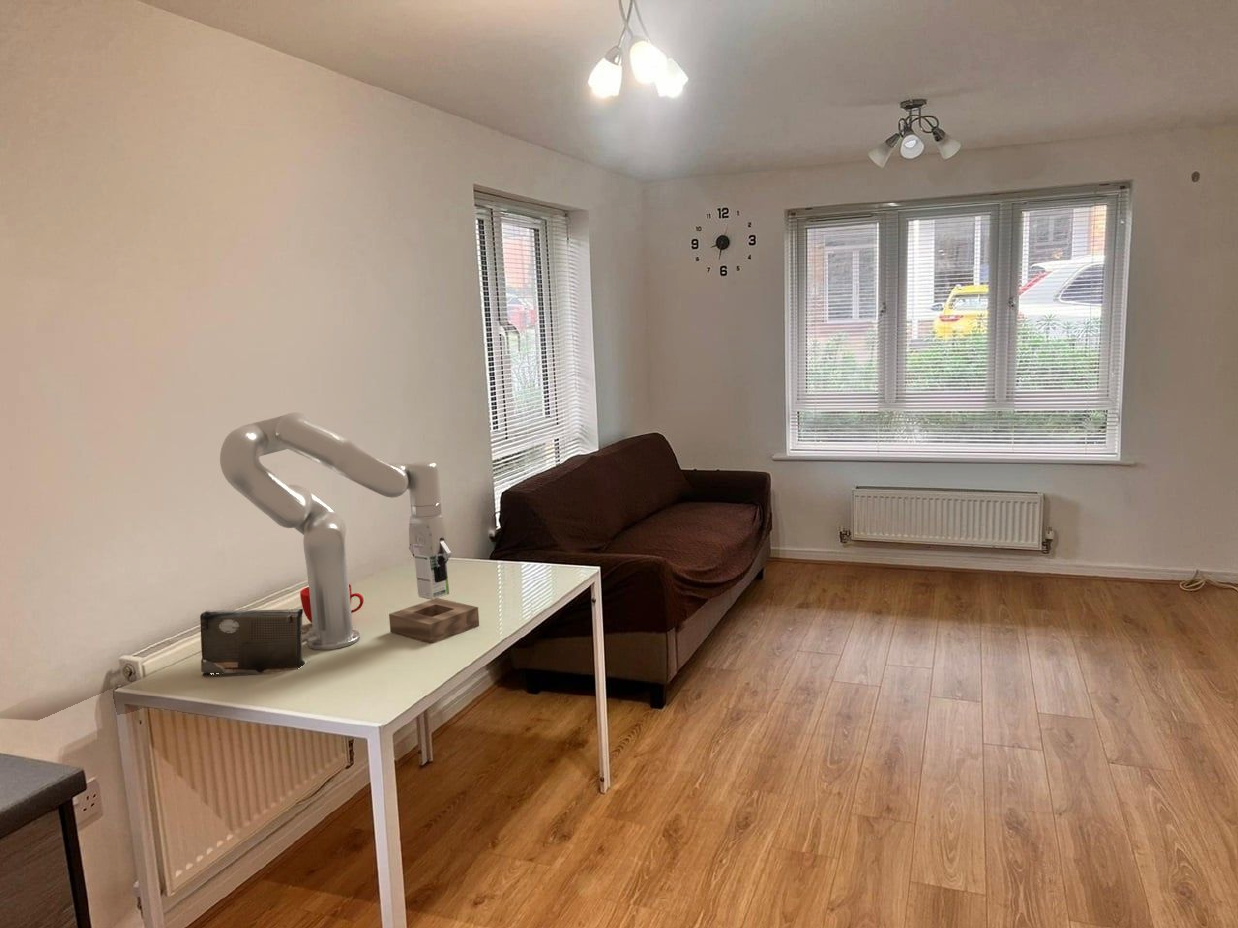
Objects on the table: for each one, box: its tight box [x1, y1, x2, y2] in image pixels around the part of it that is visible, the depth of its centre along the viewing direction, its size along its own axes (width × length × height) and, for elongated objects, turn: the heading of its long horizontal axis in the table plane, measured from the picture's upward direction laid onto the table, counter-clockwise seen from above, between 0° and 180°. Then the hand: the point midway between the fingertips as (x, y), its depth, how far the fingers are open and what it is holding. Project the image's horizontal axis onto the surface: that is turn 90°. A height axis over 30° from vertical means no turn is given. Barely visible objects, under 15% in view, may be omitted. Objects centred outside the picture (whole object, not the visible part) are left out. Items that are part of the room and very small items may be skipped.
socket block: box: [388, 597, 480, 645], centre depth 226 cm, size 16×16×5 cm
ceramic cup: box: [299, 583, 364, 624], centre depth 232 cm, size 13×17×10 cm
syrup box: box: [413, 544, 450, 601], centre depth 224 cm, size 6×6×14 cm
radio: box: [199, 608, 307, 677], centre depth 202 cm, size 23×9×15 cm, turn 90°
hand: (432, 578), depth 224 cm, fingers closed on syrup box, 5 cm apart
